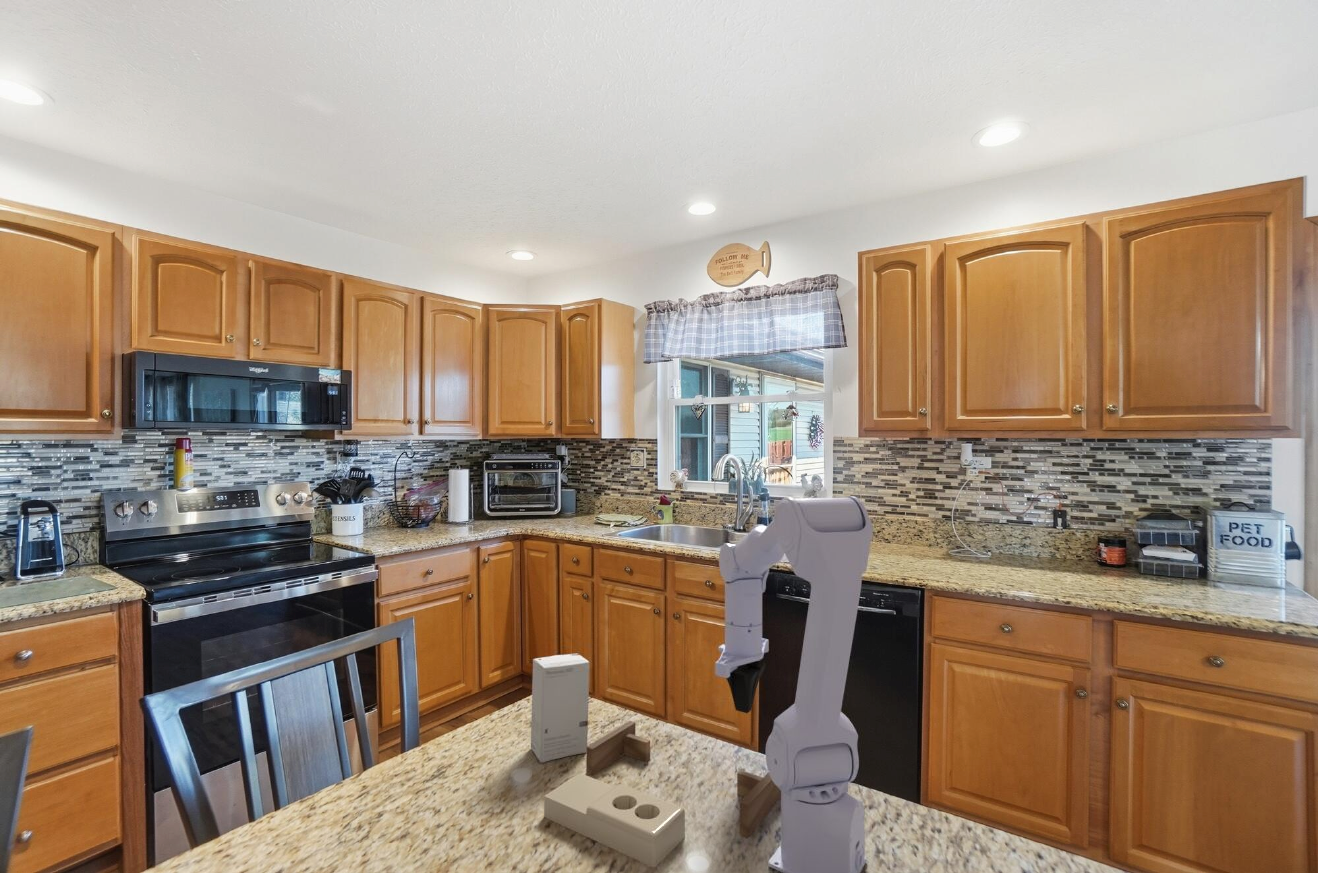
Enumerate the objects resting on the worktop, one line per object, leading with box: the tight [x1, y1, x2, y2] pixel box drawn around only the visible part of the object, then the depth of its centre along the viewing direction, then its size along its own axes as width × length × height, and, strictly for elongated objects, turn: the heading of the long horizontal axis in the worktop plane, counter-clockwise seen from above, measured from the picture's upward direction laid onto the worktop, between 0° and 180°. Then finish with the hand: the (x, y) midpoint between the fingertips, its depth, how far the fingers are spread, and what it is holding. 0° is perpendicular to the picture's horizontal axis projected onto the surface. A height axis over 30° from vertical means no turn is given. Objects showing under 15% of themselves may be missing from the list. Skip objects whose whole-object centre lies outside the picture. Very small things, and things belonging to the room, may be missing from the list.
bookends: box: [585, 720, 781, 838], centre depth 91 cm, size 27×11×4 cm, turn 56°
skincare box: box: [530, 653, 590, 764], centre depth 101 cm, size 8×6×15 cm
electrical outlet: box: [543, 772, 686, 868], centre depth 81 cm, size 7×4×18 cm
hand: (743, 710), depth 95 cm, fingers closed
